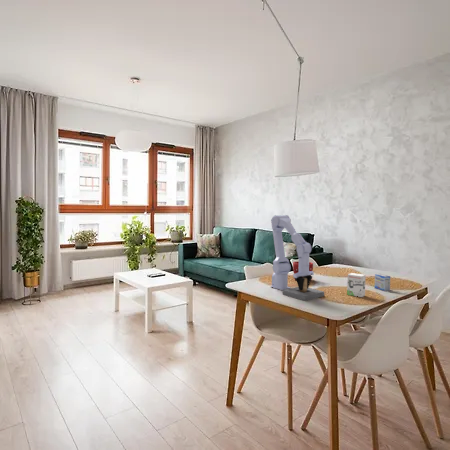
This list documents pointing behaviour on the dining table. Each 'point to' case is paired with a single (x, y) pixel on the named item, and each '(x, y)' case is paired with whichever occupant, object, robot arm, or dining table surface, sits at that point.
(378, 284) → the medicine box
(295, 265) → the plant pot
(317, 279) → the dining table surface
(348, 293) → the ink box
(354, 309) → the dining table surface
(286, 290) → the docking block
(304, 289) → the peg
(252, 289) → the dining table surface
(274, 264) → the robot arm
